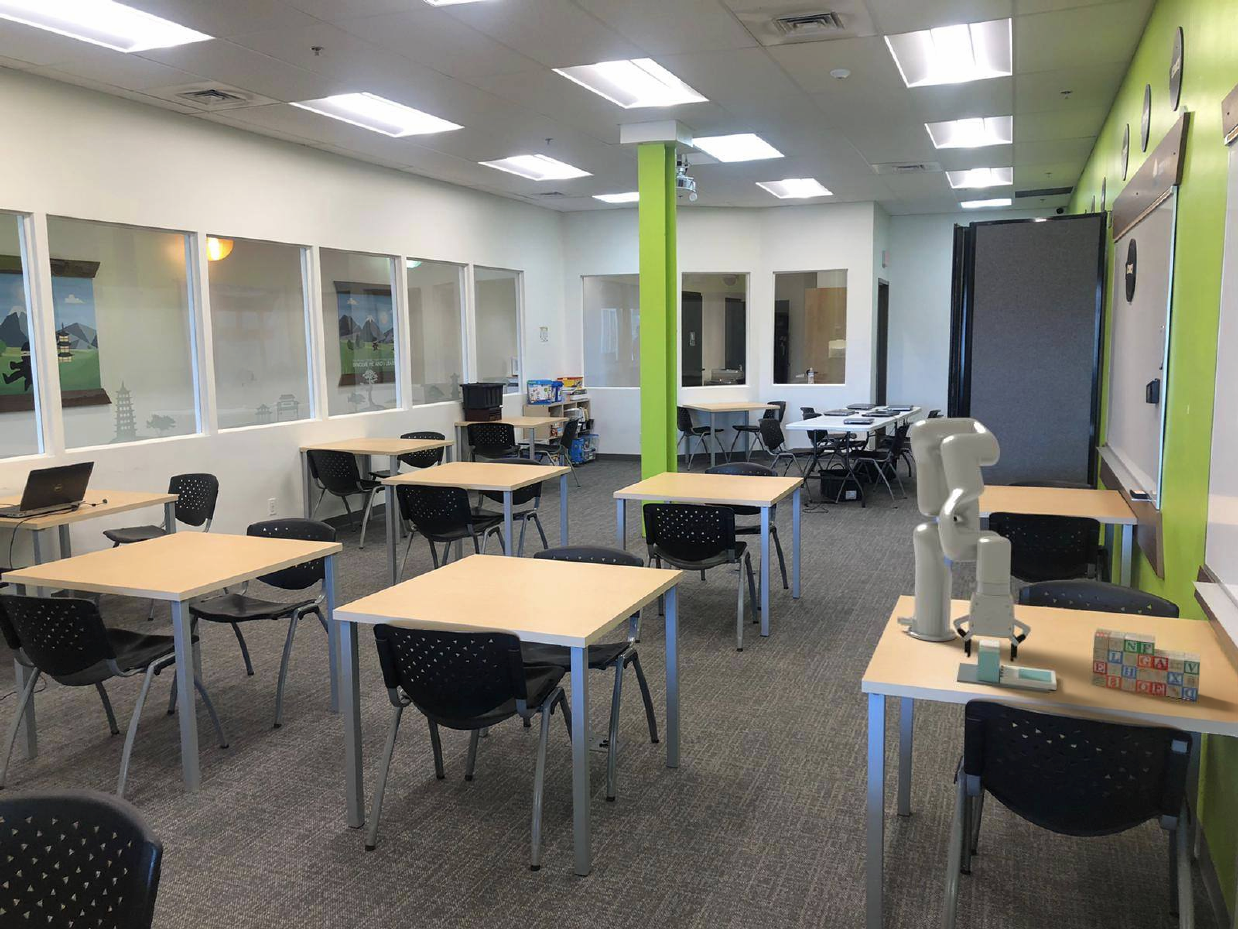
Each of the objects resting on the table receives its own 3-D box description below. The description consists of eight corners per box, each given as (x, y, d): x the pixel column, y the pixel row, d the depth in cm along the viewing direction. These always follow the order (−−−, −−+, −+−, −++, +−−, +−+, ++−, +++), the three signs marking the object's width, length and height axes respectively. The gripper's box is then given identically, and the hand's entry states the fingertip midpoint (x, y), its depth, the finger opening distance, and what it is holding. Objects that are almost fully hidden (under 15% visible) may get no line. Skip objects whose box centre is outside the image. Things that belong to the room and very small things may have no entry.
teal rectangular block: (976, 679, 221) (978, 650, 220) (978, 666, 230) (979, 638, 229) (998, 682, 219) (1000, 653, 218) (999, 669, 228) (1000, 640, 227)
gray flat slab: (956, 681, 221) (957, 674, 221) (959, 664, 233) (960, 657, 233) (1056, 693, 213) (1056, 686, 213) (1054, 675, 225) (1054, 668, 224)
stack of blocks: (1198, 694, 213) (1201, 641, 211) (1197, 702, 207) (1201, 649, 206) (1093, 676, 224) (1096, 627, 223) (1090, 684, 219) (1093, 634, 217)
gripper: (953, 588, 221) (951, 658, 223) (1032, 594, 215) (1029, 667, 216) (954, 582, 228) (953, 650, 230) (1031, 587, 222) (1029, 657, 223)
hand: (990, 658), depth 223 cm, fingers open, 9 cm apart
